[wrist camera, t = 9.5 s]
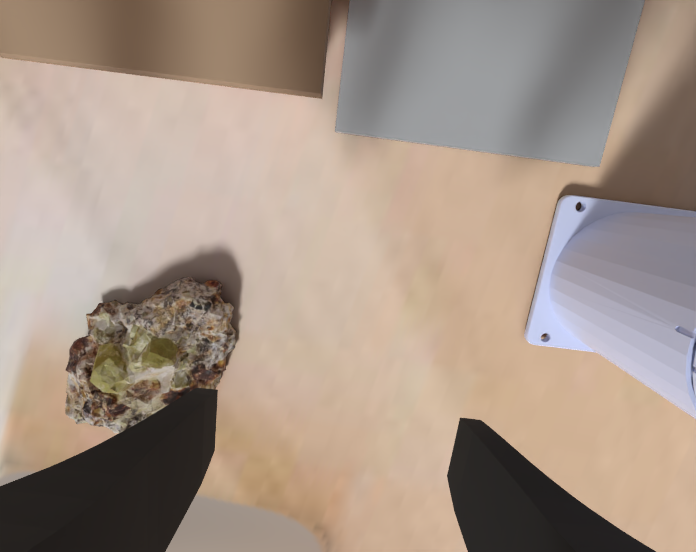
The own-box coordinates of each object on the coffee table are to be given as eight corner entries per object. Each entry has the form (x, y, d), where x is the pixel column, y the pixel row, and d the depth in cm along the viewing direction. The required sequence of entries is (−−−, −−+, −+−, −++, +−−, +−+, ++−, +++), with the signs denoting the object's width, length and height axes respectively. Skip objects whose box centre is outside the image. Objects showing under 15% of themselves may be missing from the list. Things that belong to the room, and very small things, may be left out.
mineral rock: (147, 482, 21) (-7, 416, 17) (165, 423, 25) (42, 359, 21) (284, 355, 19) (146, 255, 16) (279, 314, 23) (167, 227, 20)
